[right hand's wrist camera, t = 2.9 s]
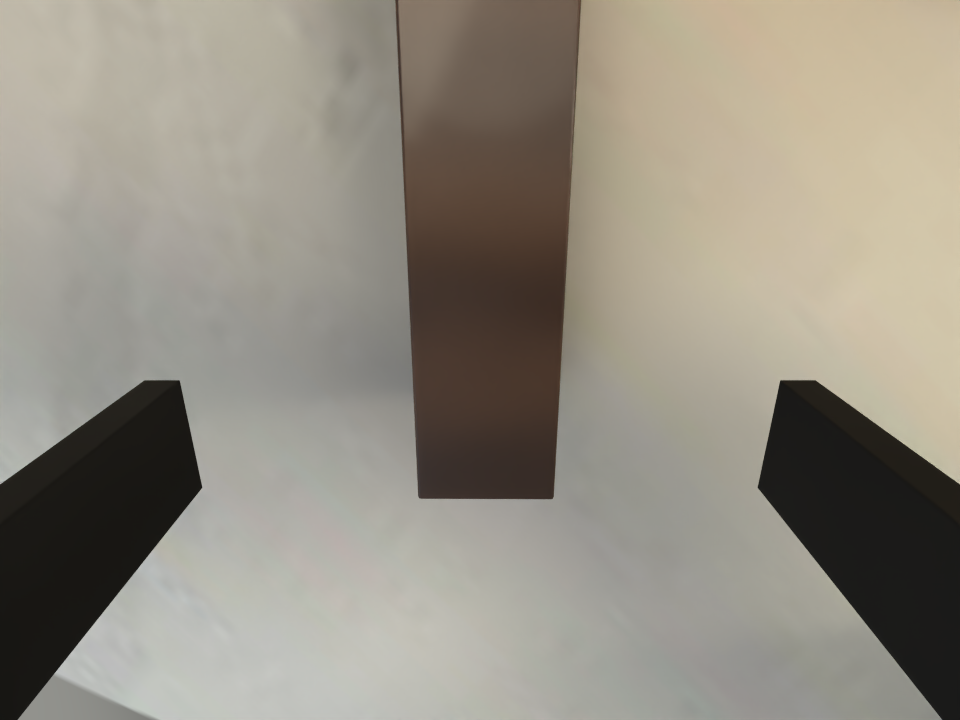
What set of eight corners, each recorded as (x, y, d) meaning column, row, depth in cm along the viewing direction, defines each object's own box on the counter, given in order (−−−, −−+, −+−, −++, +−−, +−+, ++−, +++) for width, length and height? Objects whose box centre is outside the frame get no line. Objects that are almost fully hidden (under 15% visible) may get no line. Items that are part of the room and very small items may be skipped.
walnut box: (415, -411, 19) (352, -923, 10) (561, -412, 19) (633, -928, 10) (438, 389, 30) (418, 499, 21) (532, 389, 30) (553, 500, 21)
